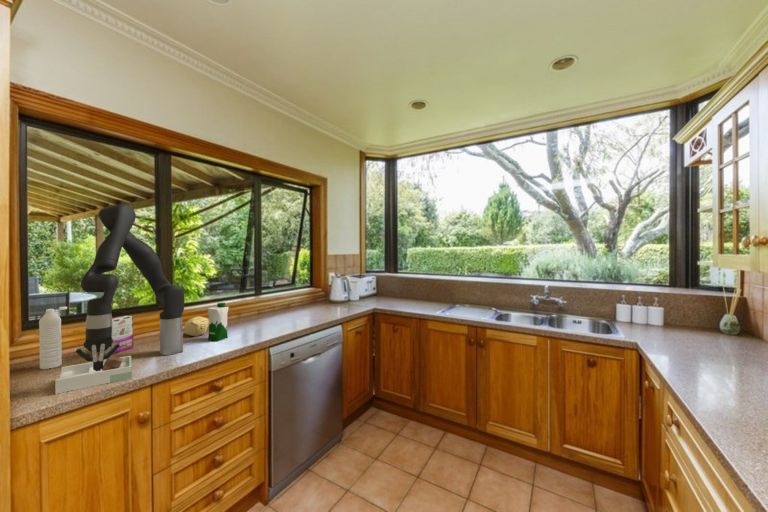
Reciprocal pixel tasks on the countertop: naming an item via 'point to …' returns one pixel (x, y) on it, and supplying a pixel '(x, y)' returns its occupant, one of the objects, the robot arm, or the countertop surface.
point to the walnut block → (112, 363)
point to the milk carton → (218, 322)
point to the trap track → (91, 375)
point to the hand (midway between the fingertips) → (98, 370)
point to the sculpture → (196, 326)
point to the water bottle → (50, 339)
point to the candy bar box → (122, 333)
